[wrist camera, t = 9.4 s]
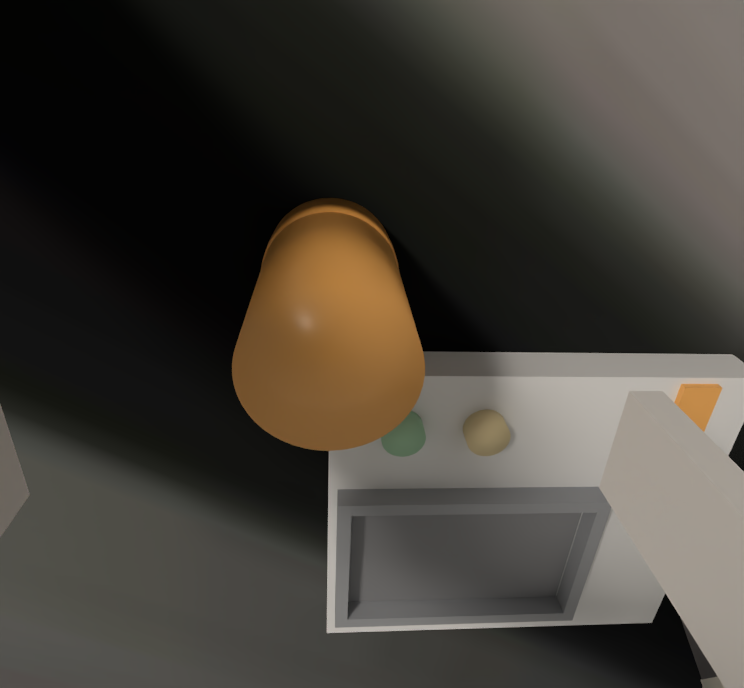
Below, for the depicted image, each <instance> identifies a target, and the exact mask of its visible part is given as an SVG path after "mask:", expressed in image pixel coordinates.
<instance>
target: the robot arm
mask: <svg viewBox="0 0 744 688" xmlns="http://www.w3.org/2000/svg"><path fill="white" fill-rule="evenodd" d="M599 488H600V490H601V492H602V493H603V495H604V496H605V498H606V500H607V501H608V503H609V504H610V506H611V507H612V509H613V511H614V512H615V514H616V515H617V517H618V519H619V520H620V522H621V523H622V525H623V527H624V528H625V530H626V531H627V533H628V535H629V536H630V538H631V539H632V541H633V542H634V544H635V546H636V547H637V549H638V550H639V552H640V554H641V555H642V557H643V558H644V560H645V562H646V563H647V565H648V566H649V568H650V570H651V571H652V573H653V574H654V576H655V577H656V579H657V581H658V582H659V584H660V585H661V587H662V589H663V590H664V592H665V593H666V595H667V597H668V598H669V600H670V601H671V603H672V605H673V606H674V608H675V609H676V611H677V613H678V614H679V616H680V617H681V619H682V620H683V622H684V624H685V625H686V627H687V628H688V630H689V632H690V633H691V635H692V636H693V638H694V640H695V641H696V643H697V644H698V646H699V648H700V649H701V651H702V652H703V654H704V655H705V657H706V659H707V660H708V662H709V663H710V665H711V667H712V668H713V670H714V671H715V673H716V675H717V676H718V678H719V679H720V681H721V683H722V684H723V686H724V687H725V688H744V472H743V471H742V470H741V469H740V468H739V467H738V466H737V465H736V464H735V463H734V462H733V461H732V460H731V459H730V458H729V457H728V456H727V455H726V454H725V453H724V452H723V451H722V450H721V449H720V448H719V447H718V446H717V445H716V444H715V443H714V442H713V441H712V440H711V439H710V438H709V437H708V436H707V435H706V434H705V433H704V432H703V431H702V430H701V429H700V428H699V427H698V426H697V425H696V424H695V423H694V422H693V421H692V420H691V419H690V418H689V417H688V416H687V415H686V414H685V413H684V412H683V411H682V410H681V409H680V408H679V407H678V406H677V405H676V404H675V403H674V402H673V401H672V400H671V399H670V398H669V397H668V396H667V395H666V394H665V393H664V392H663V391H629V393H628V396H627V400H626V403H625V406H624V409H623V412H622V416H621V419H620V422H619V425H618V428H617V432H616V435H615V438H614V441H613V444H612V448H611V451H610V454H609V457H608V460H607V464H606V467H605V470H604V473H603V476H602V480H601V483H600V486H599ZM29 495H30V494H29V491H28V488H27V485H26V481H25V478H24V475H23V472H22V469H21V466H20V463H19V460H18V457H17V454H16V451H15V448H14V444H13V441H12V438H11V435H10V432H9V429H8V426H7V423H6V420H5V417H4V414H3V411H2V407H1V404H0V537H1V536H2V534H3V533H4V531H5V530H6V528H7V527H8V526H9V524H10V523H11V521H12V520H13V518H14V517H15V515H16V514H17V513H18V511H19V510H20V508H21V507H22V505H23V504H24V502H25V501H26V500H27V498H28V497H29Z"/></svg>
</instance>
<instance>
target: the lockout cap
mask: <svg viewBox="0 0 744 688" xmlns="http://www.w3.org/2000/svg"><path fill="white" fill-rule="evenodd" d="M232 377H233V383H234V387H235V390H236V393H237V396H238V398H239V400H240V402H241V404H242V406H243V407H244V409H245V410H246V412H247V413H248V415H249V416H250V417H251V418H252V419H253V420H254V421H255V422H256V423H257V424H258V425H259V426H260V427H261V428H263V429H264V430H265V431H267V432H268V433H270V434H271V435H273V436H274V437H276V438H278V439H280V440H282V441H284V442H286V443H289V444H292V445H294V446H298V447H302V448H306V449H312V450H323V451H334V450H344V449H351V448H355V447H359V446H362V445H365V444H368V443H370V442H373V441H375V440H377V439H379V438H381V437H383V436H384V435H386V434H387V433H389V432H390V431H392V430H393V429H394V428H396V427H397V426H398V425H399V424H400V423H401V422H402V421H403V420H404V419H405V418H406V417H407V416H408V415H409V413H410V412H411V410H412V409H413V407H414V406H415V404H416V402H417V400H418V398H419V396H420V393H421V390H422V387H423V383H424V377H425V360H424V353H423V350H422V346H421V342H420V339H419V336H418V333H417V329H416V326H415V323H414V319H413V316H412V313H411V309H410V306H409V303H408V299H407V296H406V293H405V289H404V286H403V283H402V279H401V276H400V273H399V267H398V262H397V258H396V254H395V251H394V248H393V245H392V243H391V241H390V238H389V237H388V235H387V232H386V230H385V229H384V227H383V225H382V224H381V223H380V221H379V220H378V219H377V218H376V217H375V216H374V215H373V214H372V213H371V212H370V211H368V210H367V209H365V208H364V207H362V206H360V205H358V204H357V203H354V202H351V201H349V200H344V199H340V198H320V199H314V200H311V201H308V202H305V203H303V204H301V205H299V206H297V207H296V208H294V209H292V210H291V211H290V212H289V213H288V214H286V215H285V216H284V218H283V219H282V220H281V221H280V222H279V224H278V225H277V227H276V228H275V230H274V232H273V234H272V236H271V238H270V240H269V242H268V245H267V248H266V251H265V254H264V257H263V260H262V266H261V271H260V274H259V277H258V280H257V283H256V286H255V289H254V292H253V295H252V298H251V301H250V304H249V307H248V310H247V313H246V316H245V319H244V322H243V325H242V328H241V331H240V334H239V337H238V340H237V343H236V346H235V350H234V353H233V360H232Z"/></svg>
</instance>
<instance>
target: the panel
mask: <svg viewBox="0 0 744 688" xmlns="http://www.w3.org/2000/svg"><path fill="white" fill-rule="evenodd" d="M423 353H424V360H425V377H424V383H423V387H422V390H421V393H420V396H419V398H418V400H417V402H416V404H415V406H414V407H413V409H412V410H411V412H410V413H409V415H408V416H407V417H406V418H405V419H404V420H403V421H402V422H401V423H400V424H399V425H398V426H397V427H396V428H394V429H393V430H392V431H390V432H389V433H387V434H386V435H384V436H383V437H381V438H379V439H377V440H375V441H373V442H370V443H368V444H365V445H362V446H359V447H355V448H351V449H344V450H334V451H329V477H328V568H327V633H342V632H373V631H405V630H437V629H469V628H501V627H533V626H565V625H597V624H628V623H652V621H653V619H654V617H655V615H656V612H657V610H658V608H659V606H660V604H661V601H662V599H663V597H664V595H665V592H664V590H663V589H662V587H661V585H660V584H659V582H658V581H657V579H656V577H655V576H654V574H653V573H652V571H651V570H650V568H649V566H648V565H647V563H646V562H645V560H644V558H643V557H642V555H641V554H640V552H639V550H638V549H637V547H636V546H635V544H634V542H633V541H632V539H631V538H630V536H629V535H628V533H627V531H626V530H625V528H624V527H623V525H622V523H621V522H620V520H619V519H618V517H617V515H616V514H615V512H614V511H613V509H612V507H611V506H610V504H609V503H608V501H607V500H606V498H605V496H604V495H603V493H602V492H601V490H600V488H599V486H600V483H601V480H602V476H603V473H604V470H605V467H606V464H607V460H608V457H609V454H610V451H611V448H612V444H613V441H614V438H615V435H616V432H617V428H618V425H619V422H620V419H621V416H622V412H623V409H624V406H625V403H626V400H627V396H628V393H629V391H663V392H664V393H665V394H666V395H667V396H668V397H669V398H670V399H671V400H672V401H673V402H674V403H675V404H676V405H677V406H678V407H679V408H680V409H681V410H682V411H683V412H684V413H685V414H686V415H687V416H688V417H689V418H690V419H691V420H692V421H693V422H694V423H695V424H696V425H697V426H698V427H699V428H700V429H701V430H702V431H703V432H704V433H705V434H706V435H707V436H708V437H709V438H710V439H711V440H712V441H713V442H714V443H715V444H716V445H717V446H718V447H719V448H720V449H721V450H722V451H723V452H724V453H725V454H726V455H727V456H728V455H729V453H730V451H731V449H732V446H733V444H734V442H735V440H736V438H737V435H738V433H739V431H740V429H741V427H742V425H743V422H744V363H743V362H742V361H741V360H739V359H738V358H737V357H735V356H734V355H733V354H635V353H530V352H424V351H423Z"/></svg>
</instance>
